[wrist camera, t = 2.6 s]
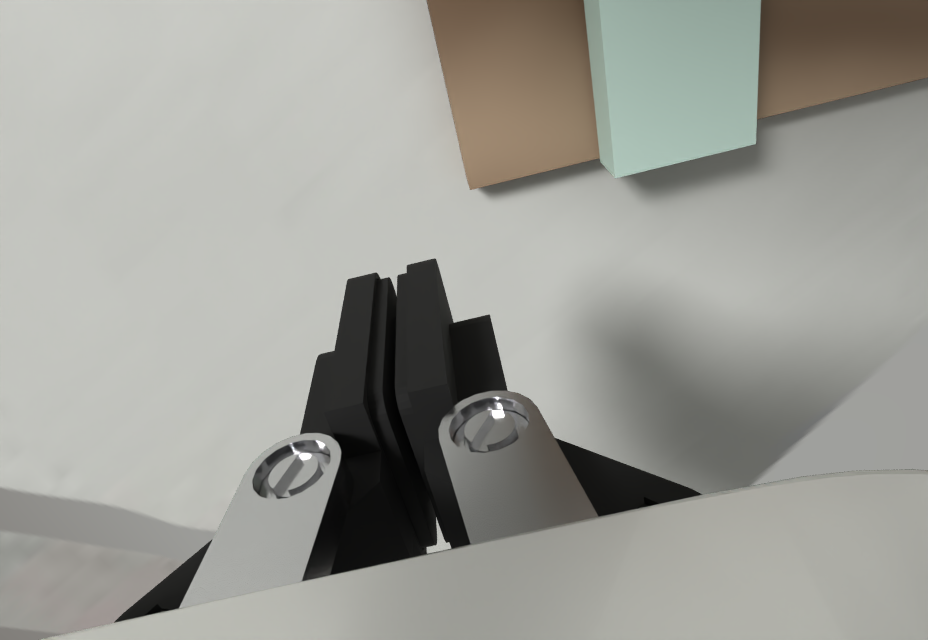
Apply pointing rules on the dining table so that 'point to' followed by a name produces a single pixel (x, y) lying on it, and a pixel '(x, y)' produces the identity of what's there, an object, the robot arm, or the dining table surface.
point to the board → (570, 82)
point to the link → (672, 79)
